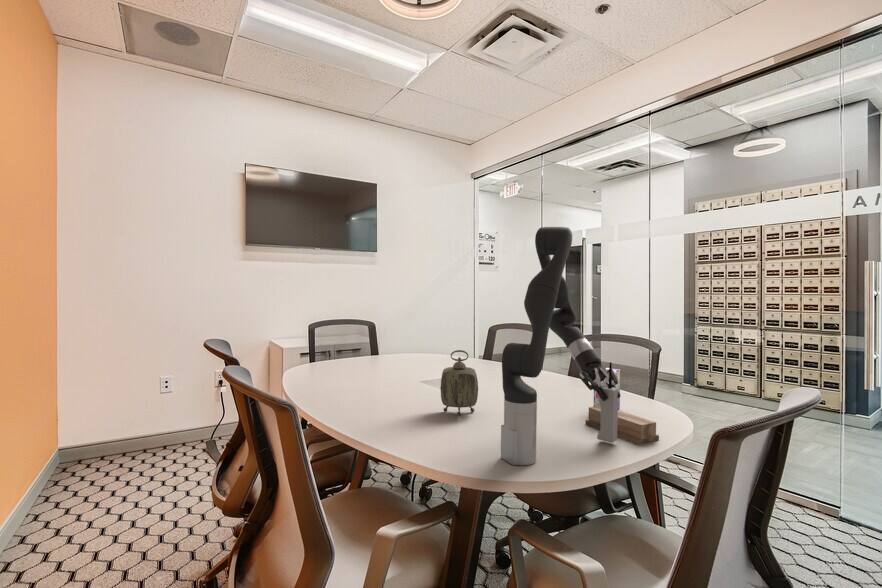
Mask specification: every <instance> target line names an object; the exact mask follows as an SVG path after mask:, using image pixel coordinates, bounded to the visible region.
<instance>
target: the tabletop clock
mask: <svg viewBox="0 0 882 588" xmlns="http://www.w3.org/2000/svg"><path fill="white" fill-rule="evenodd" d="M454 353H464V354H465V355H466V356H467V357H466V358H461V357H460V356H459V357H458V358H454V357H453V354H454ZM450 358H451V359H452V360H453V361H455V362H454V363H453V365H452V366H449V367H445V368H443V371H442V373H441V380H440V388H439V390H440V398H441V402H442V405H443V406H445V407H444V408H443V412H444V413H446V412H448V408H450V407H451V408H458V409H457V410H458V411H457V413H456V415H457V416H458V417H460V416H462V413H461V409H462V408H469V409H470V410H469V411H470V412H471V413H474V412H475V408H473V407H475V406H476V403H477V402H478V397H479V381H478V376H477V372H476V369H474V368H472V367H468V366H466V364H465V363H464V361H466V360H468V359H469V353H468V352H467V351H465V350H462V349H459V350H454V351H452V352H451V353H450Z"/></svg>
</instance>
